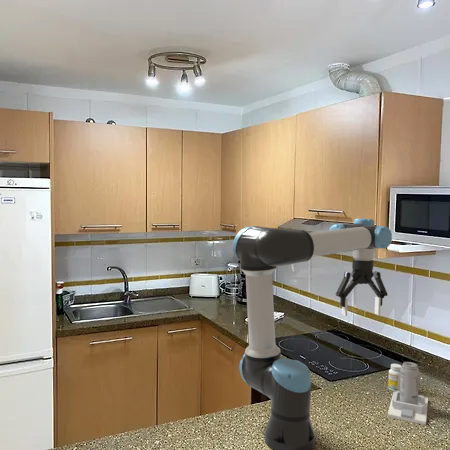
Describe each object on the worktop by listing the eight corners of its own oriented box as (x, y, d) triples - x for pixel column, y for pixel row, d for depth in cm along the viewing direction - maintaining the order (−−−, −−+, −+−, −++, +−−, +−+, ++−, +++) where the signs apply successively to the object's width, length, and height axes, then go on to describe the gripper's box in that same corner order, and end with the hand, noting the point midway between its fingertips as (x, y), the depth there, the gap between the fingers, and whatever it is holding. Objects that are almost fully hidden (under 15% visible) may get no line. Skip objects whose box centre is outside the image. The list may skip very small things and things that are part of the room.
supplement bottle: (391, 392, 172) (392, 367, 171) (385, 386, 177) (386, 363, 177) (405, 391, 172) (406, 367, 172) (398, 386, 178) (399, 362, 177)
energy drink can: (416, 410, 154) (418, 368, 153) (398, 406, 157) (399, 365, 156) (418, 404, 159) (420, 363, 159) (400, 400, 162) (402, 360, 162)
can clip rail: (425, 425, 146) (426, 414, 146) (387, 416, 151) (387, 406, 151) (427, 400, 165) (428, 391, 165) (393, 394, 170) (394, 385, 170)
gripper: (387, 258, 173) (385, 311, 174) (328, 258, 168) (326, 313, 169) (398, 260, 166) (396, 316, 167) (336, 260, 161) (335, 318, 162)
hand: (361, 314), depth 168 cm, fingers open, 13 cm apart
